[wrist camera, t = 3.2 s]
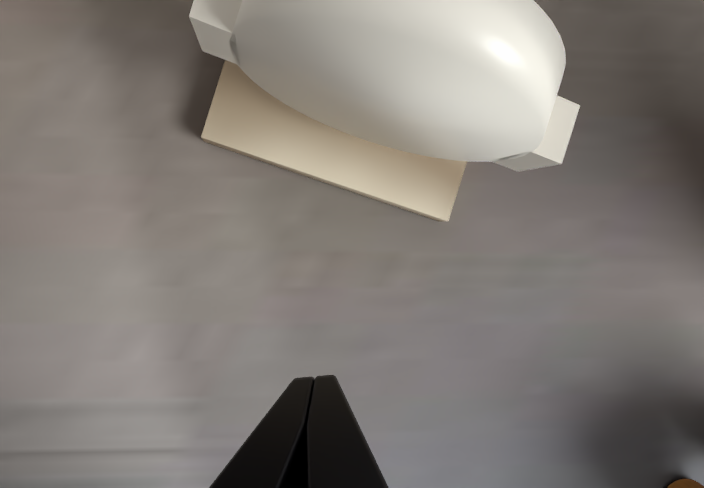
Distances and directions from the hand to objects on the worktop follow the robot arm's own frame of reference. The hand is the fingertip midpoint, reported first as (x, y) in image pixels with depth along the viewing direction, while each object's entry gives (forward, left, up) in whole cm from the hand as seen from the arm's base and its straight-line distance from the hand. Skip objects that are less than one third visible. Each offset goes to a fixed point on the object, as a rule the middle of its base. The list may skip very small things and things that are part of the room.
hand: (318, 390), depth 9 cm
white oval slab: (+3, +7, -7) cm, 10 cm away
